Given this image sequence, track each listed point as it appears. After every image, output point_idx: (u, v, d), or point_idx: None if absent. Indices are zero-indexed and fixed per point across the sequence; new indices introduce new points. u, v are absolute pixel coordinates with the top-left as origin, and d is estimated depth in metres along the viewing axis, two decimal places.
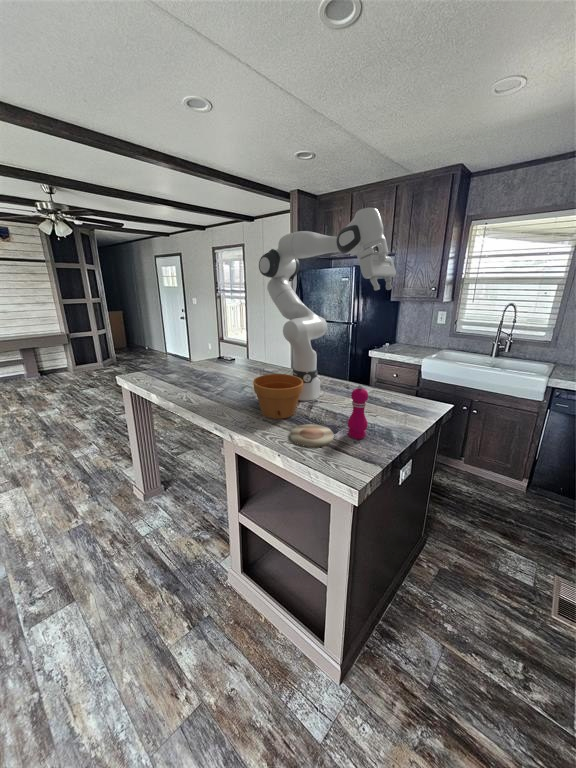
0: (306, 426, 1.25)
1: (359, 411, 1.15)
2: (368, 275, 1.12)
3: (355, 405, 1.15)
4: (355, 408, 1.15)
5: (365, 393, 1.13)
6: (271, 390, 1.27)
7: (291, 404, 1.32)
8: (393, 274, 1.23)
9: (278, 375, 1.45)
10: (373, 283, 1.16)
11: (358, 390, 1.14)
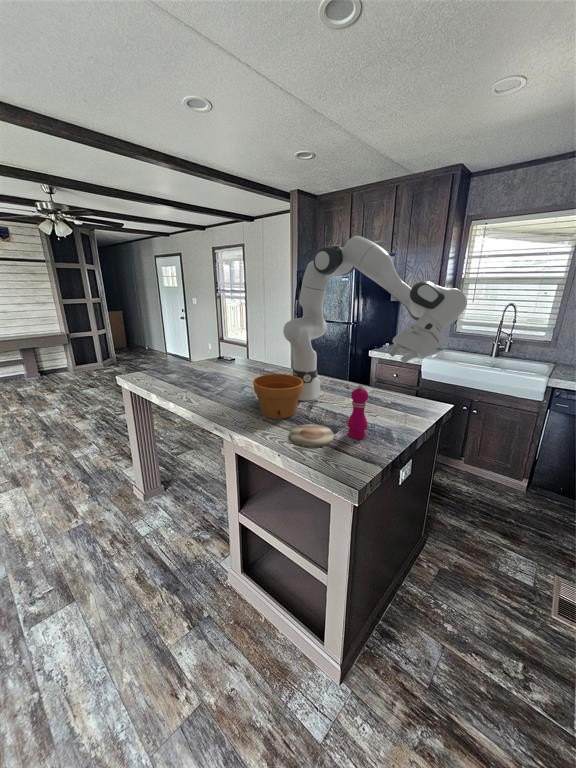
0: (306, 426, 1.25)
1: (359, 411, 1.15)
2: (422, 354, 1.03)
3: (355, 405, 1.15)
4: (355, 408, 1.15)
5: (365, 393, 1.13)
6: (271, 390, 1.27)
7: (291, 404, 1.32)
8: None
9: (278, 375, 1.45)
10: (409, 356, 1.07)
11: (358, 390, 1.14)
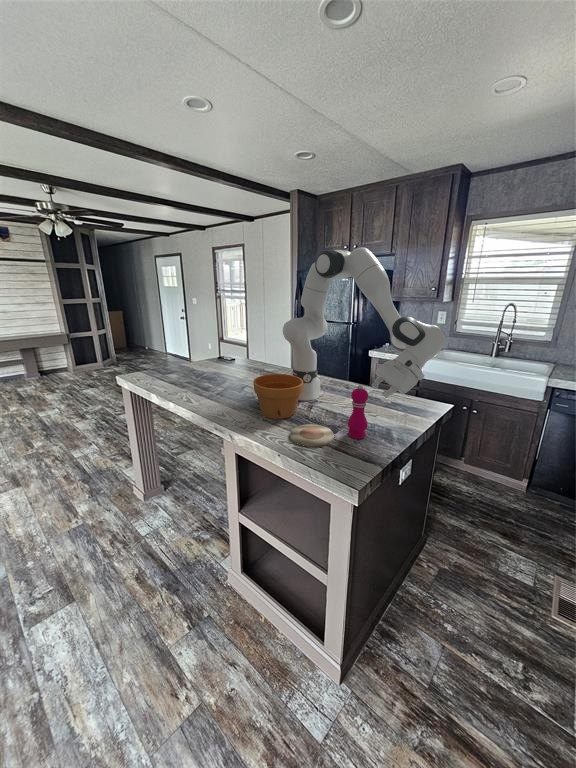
0: (306, 426, 1.25)
1: (359, 411, 1.15)
2: (402, 391, 1.06)
3: (355, 405, 1.15)
4: (355, 408, 1.15)
5: (365, 393, 1.13)
6: (271, 390, 1.27)
7: (291, 404, 1.32)
8: None
9: (278, 375, 1.45)
10: (389, 391, 1.10)
11: (358, 390, 1.14)
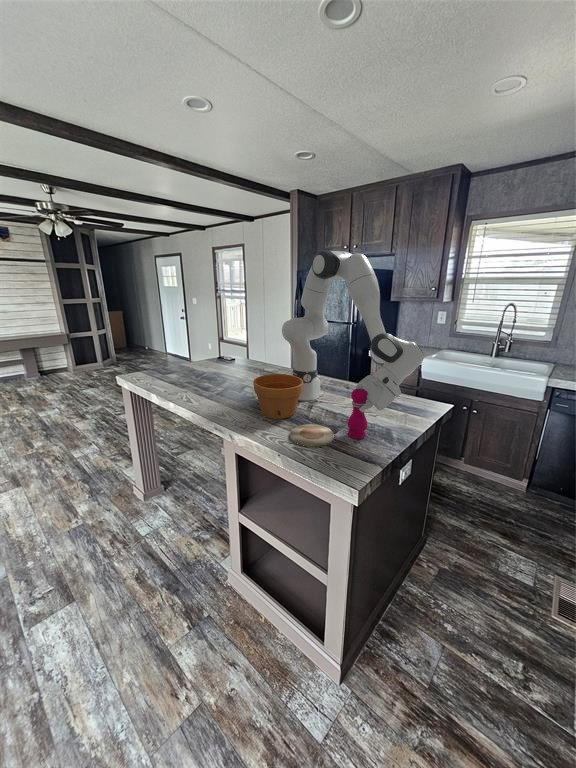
0: (306, 426, 1.25)
1: (359, 411, 1.15)
2: (378, 408, 1.07)
3: (355, 405, 1.15)
4: (355, 408, 1.15)
5: (365, 393, 1.13)
6: (271, 390, 1.27)
7: (291, 404, 1.32)
8: None
9: (278, 375, 1.45)
10: (366, 406, 1.12)
11: (358, 390, 1.14)
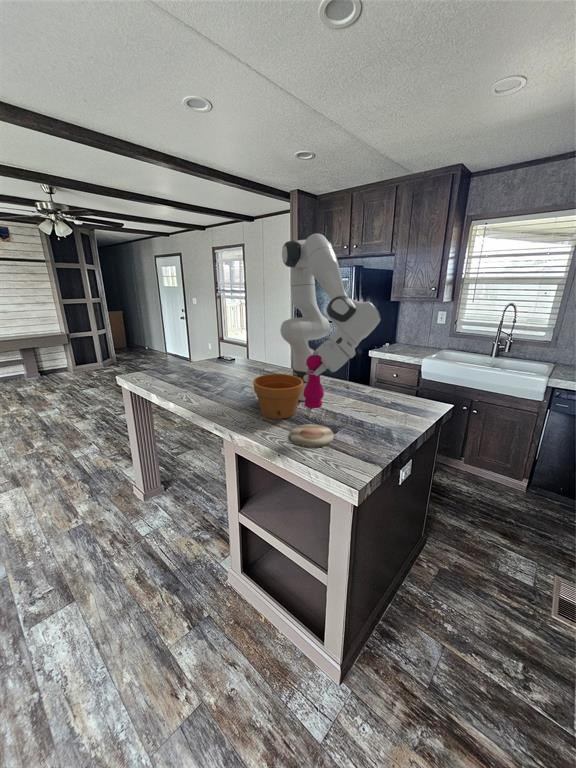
0: (306, 426, 1.25)
1: (314, 379, 1.10)
2: (331, 369, 1.02)
3: (310, 372, 1.10)
4: (310, 375, 1.11)
5: (320, 359, 1.08)
6: (271, 390, 1.27)
7: (291, 404, 1.32)
8: None
9: (278, 375, 1.45)
10: (320, 369, 1.07)
11: (313, 356, 1.09)
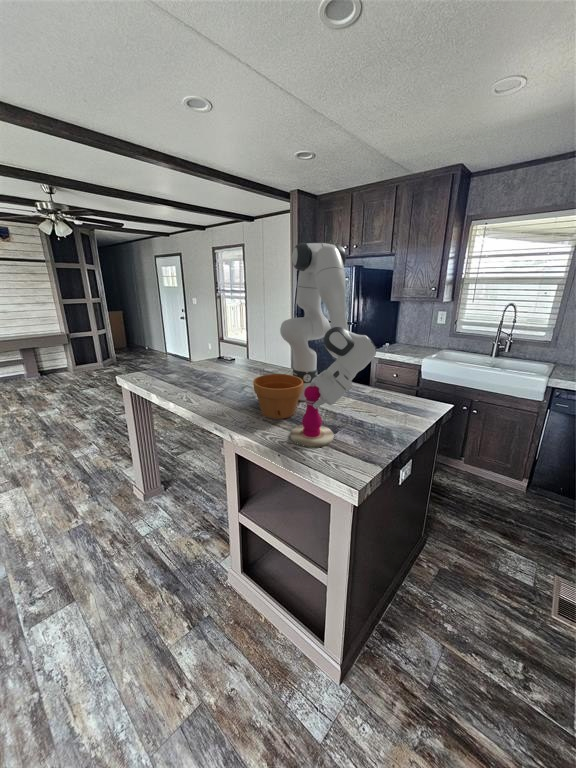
0: None
1: (312, 409, 1.14)
2: (328, 402, 1.05)
3: (308, 403, 1.13)
4: (308, 406, 1.14)
5: (317, 390, 1.12)
6: (271, 390, 1.27)
7: (291, 404, 1.32)
8: None
9: (278, 375, 1.45)
10: (319, 402, 1.09)
11: (310, 387, 1.12)
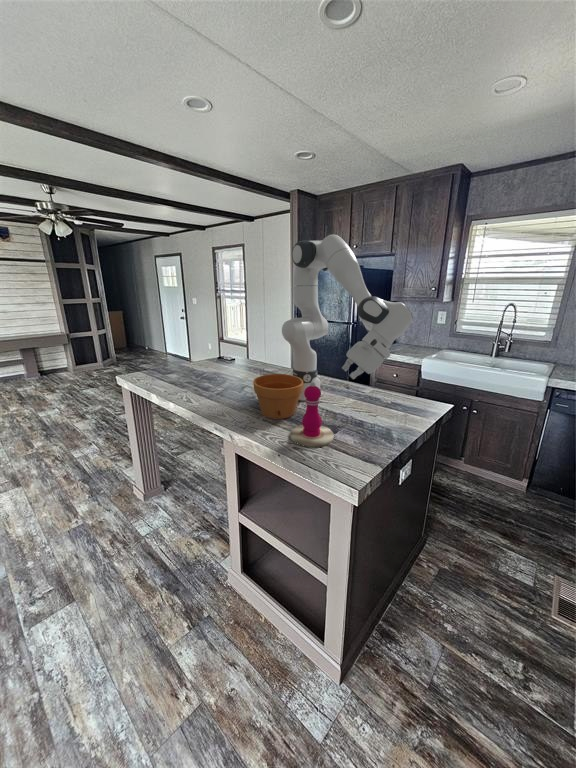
0: None
1: (312, 409, 1.14)
2: (367, 371, 1.04)
3: (308, 403, 1.13)
4: (308, 406, 1.14)
5: (317, 390, 1.12)
6: (271, 390, 1.27)
7: (291, 404, 1.32)
8: None
9: (278, 375, 1.45)
10: (356, 372, 1.08)
11: (310, 387, 1.12)
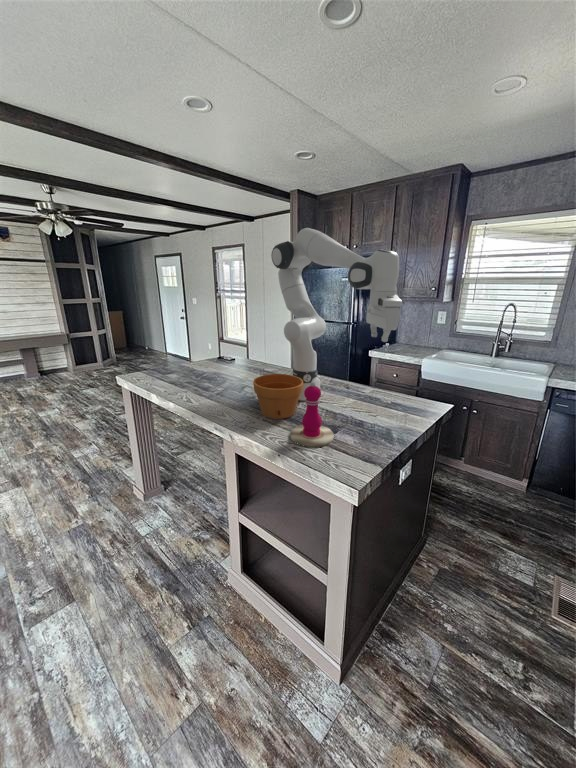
0: None
1: (312, 409, 1.14)
2: (393, 328, 1.05)
3: (308, 403, 1.13)
4: (308, 406, 1.14)
5: (317, 391, 1.12)
6: (271, 390, 1.27)
7: (291, 404, 1.32)
8: None
9: (278, 375, 1.45)
10: (385, 334, 1.10)
11: (310, 387, 1.12)
